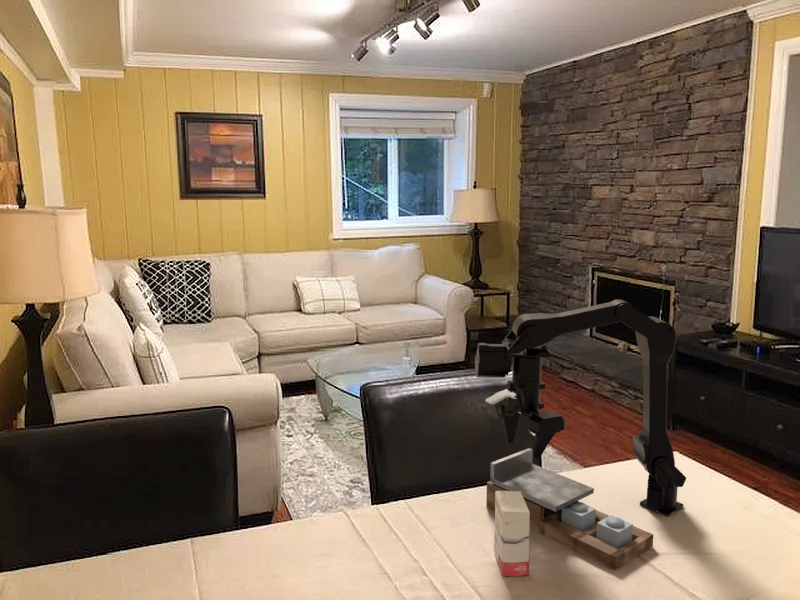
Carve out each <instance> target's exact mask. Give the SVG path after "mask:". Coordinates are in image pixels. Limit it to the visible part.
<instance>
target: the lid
mask: <svg viewBox="0 0 800 600" xmlns="http://www.w3.org/2000/svg"><path fill="white" fill-rule="evenodd" d="M489 481H490V482H491V483H494V484H496V485H498V486H500V487H502V488H505V489H507V490H509V491H521V494H522V496H523V497H524V498H527V499H529V500H531V501H533V502H535V503H537V504H540V505H542V506H544V508H546V509H549V510H551V511H553V512H555V513H557V512H559V511H561V509H562V508H564V507H566V506H568V505H570V504H573V503H575V502H577V501H579V502H580V500H583V499H584V498H586V497H588V496H590V495H592V494H593V495H594V493H595V492H594V491H595V488H594V487H591V486H589V485H587V484H584V483H582V482H579V481H576V480H575V479H571V478H569V477H567V476H565V475H561V474H559V473H556V472H555V471H552V470H549V469H547V468H544V467H542V466H539V465H537V464H534V463H533V448H530V447H528V448H526V449H523V450H520V451H518V452H515V453H513V454H510V455H507V456H505V457H502V458H500V459H497V460H494V461H492V462H490V480H489Z"/></svg>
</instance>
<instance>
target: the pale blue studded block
mask: <svg viewBox="0 0 800 600" xmlns="http://www.w3.org/2000/svg"><path fill="white" fill-rule="evenodd" d="M596 510H597V509H596V508H594V507H592V506H590V505H588V504H586V503H584V502H581V501H580V500H579V501H577V502H575V503H573V504H570V505H568V506H566V507H564V508H562V518H561V522H562V523H564V524H566V525H569V526H571V527H573V528H575V529H577V530H579V531H581V532H583V531H585V530H587V529H589V528H591V527H592V526H594V525H595V514H596Z"/></svg>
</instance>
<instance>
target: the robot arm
mask: <svg viewBox="0 0 800 600" xmlns="http://www.w3.org/2000/svg"><path fill="white" fill-rule="evenodd" d="M618 323H622V324H624V325H625V326H626V327H628V328H629V329H632V331H634V333H635V337H636V342H637V348H638V350H639V353H640V356H641V359H642V364H643V365H642V377H643V378H642V384H643V385H642V386H643V387H642V388H643V389H642V390H643V391H642V392H643V393H642V396H643V397H642V401H643V402H642V404H643V405H642V412H643V413H642V429H641V430H640V433H639V434H633V435H632V439H633V440H632V441H633V448H632V450H631V452H632V453H633V455H634V456H635V458H636V460H637V461H638V462H639V463H640V465H641V466H642V467H643V468H644V470H645V471H646V472H647V473H648V478H647V487H646V498H645V499H642V500H640V501H639V505H640V506H642V507H644V508H647V509H648V510H649V509H650V510H652V511H654V512H657V513H659V514H662V515H664V516H670V515H672V514H674V513H676V512H677V511H679V510H680V509H682V508H684V504H683V503H682V502H680V501H677V500H678V488H682V487H684V485H685V482H686V480H687V477H686V476H685V474H683V473H682V471H680V470H679V469H678V468H677V467H676V462H675V454H674V450H673V446H672V444H671V441H670V438H669V434H668V364H669V362H670V361H671V359H672V356H673V355H674V352H675V347H676V341H677V333H676V329H675V328H674V327H673V325H671V324H670V323H667V322H666V321H664V320H662V319H660V318H658V317H656V316H647V315H646V314H645V313H643V312H641V311H639V310H638V309H636V308H635V307H634V306H632V304H630V303H629V302H627V301H625V300H623V299H620V298H619V299H614V300H612V301H609V302H605V303H600V304H595V305H591V306H585V307H582V308H577V309H573V310H568V311H564V312H559V313H558V312H557V313H542V312H541V313H540V312H539V313H536V312H535V313H523V314H519V315H518V316H517V317H516V318H515V319H514V321H513V323H512V327H511V328H512V329H511V330H510V331H509V333H508V334H507V335H506V336H505V337H504V339H503V340H502V341H501V343H485V342H478V343H477V349H476V353H475V354H476V356H474V371H475V372H474V373H475V377H476V378H506V376H508V375H509V374H510V373H511V369H512V373H511V374H512V375H511V376H512V377H511V379H510V380H507V382H506V387H505V389H503V390H500V391H496V392H492V393H491V394H490V395H489V396H488V397H487V398H485V400H484V401H485V404H486V407H487V411H488V414H489V416H493V417H494V418H496V419H497V420H499V421H501V424H502V429H503V431H504V435H505V439H506V442H507V443H508V444H513V442H514V439H515V436H516V433H517V430H518V429H517V428H518V425H519V420H520V416H521V415H523V416H524V417H526V418H528V425H529V428H527V430H528V432H529V433H530V434H531V435H532V442H533V443H532V444H533V445H532V446H533V447H532V455H533V459H534V460H535V461H536V460H540V459H541V456H542V455H543V453H544V452H545V450H546V449H547V447H548V445H549V443H550V442H551V441H552V439H553V438H554V436H555V435H556V434H557V433H561V431H565V430H566V419H565V418H564V417H563V416H562V415H561V414H560V413H557V412H555V411H553V410H546V411H539V410H541V409H544V408H545V403H544V402H542V401H541V390H545V389H546V383H544V382H542V368H543V367H542V365H543V359H545V358H548V359H549V358H553V357H554V355H553V353H552V352H551V351H550V349H548V348H547V345H545V344H547V343H550V342H552V341H554V340H555V339H557V338H558V337H560V336H563V335H566V334H567V335H568V334H571V333H575V332H580V331H584V330H589V329H593V328H598V327H599V328H600V327H603V326H608V325H612V324H618Z"/></svg>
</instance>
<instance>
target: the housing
mask: <svg viewBox="0 0 800 600" xmlns="http://www.w3.org/2000/svg"><path fill="white" fill-rule="evenodd" d="M496 491H509V490H507V489H505V488H502V487H500V486H498V485H496V484H494V483H491V482H490V480H489V481H487V482H486V504H485V505H486V507H487V508H489V509H491V510H493V511H495V492H496ZM523 498H524V497H523ZM524 500H525V503H526V505H527V507H528V510H529V512H530V524H529V529H531V530H533V531H535V532H537V533H539V534H541V535H543V536H544V537H547V538H549V539H551V540H553V541H555V542H557V543H559V544H561V545H562V546H565V547H567V548H569V549H571V550H572V551H575V552H577V553H579V554H580V555H583V556H585V557H587V558H589V559H592V560H593V561H595V562H596V563H599V564H601V565H603V566H605V567H607V568H609V569H610V570H613V571H618V570H619V569H620V568H622V567H624V566H626V565H627V564H629V563H630V562H632V561H633V560H634V559H637V558H638V557H639V556H641V555H642V554H644V553H645V552H648V551H649V550H651V549H652V548H653V547H654V546H653V545H654V533H650V532H648V531H647V530H644V529H642V528H639V527H637V526H634V525H633V528H632V542H630V543H628V544H627V545H625V546H623V547H622V548H620V549H618V548H616V547H613V546H611V545H609V544H607V543H605V542H603V541H601V540H599V539H596V533H597V522H599V521H601V520H603V519H605V518H607V517H609V516H610V515H609V514H607V513H604V512H603V511H600V510H597V509H596V514H595V525H594V526H592V527H591V528H589V529H587V530H585V531H583V532H581V531H579V530H577V529H575V528H573V527H571V526H569V525H566V524H564V523H562V522H561V518H562V509H560V510H558V511H556V512H555V513H553V514H551V515H549V516H547V517H545V507H544V506H542V505H540V504H537V503H535V502H533V501H531V500H529V499H527V498H524Z"/></svg>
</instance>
